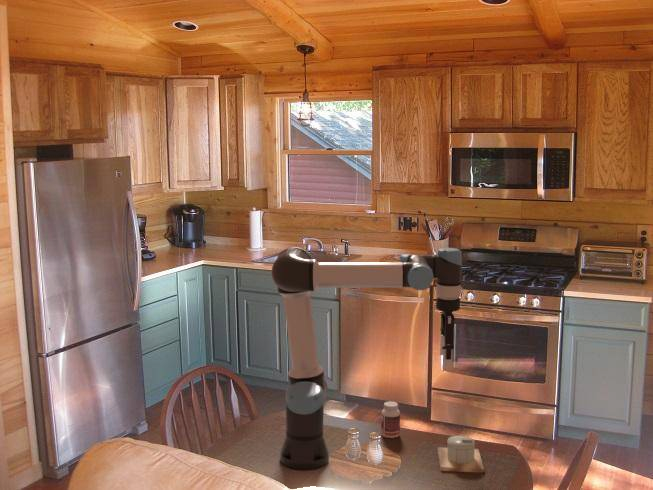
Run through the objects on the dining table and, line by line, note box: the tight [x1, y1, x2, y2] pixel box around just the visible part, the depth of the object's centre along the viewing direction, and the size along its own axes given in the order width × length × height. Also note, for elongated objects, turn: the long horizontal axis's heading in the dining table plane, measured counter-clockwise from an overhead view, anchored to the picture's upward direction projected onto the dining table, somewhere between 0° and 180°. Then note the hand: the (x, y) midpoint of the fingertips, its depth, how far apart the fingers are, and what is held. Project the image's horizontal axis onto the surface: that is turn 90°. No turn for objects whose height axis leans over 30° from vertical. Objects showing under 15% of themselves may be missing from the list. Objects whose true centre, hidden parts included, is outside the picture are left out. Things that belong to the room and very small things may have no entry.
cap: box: [446, 435, 476, 464], centre depth 239 cm, size 8×8×6 cm
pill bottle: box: [380, 401, 401, 439], centre depth 258 cm, size 6×6×11 cm
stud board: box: [436, 446, 485, 474], centre depth 239 cm, size 13×14×5 cm
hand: (445, 361), depth 246 cm, fingers open, 13 cm apart
